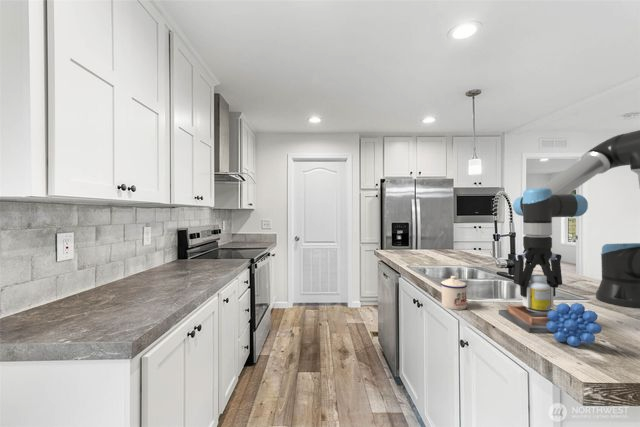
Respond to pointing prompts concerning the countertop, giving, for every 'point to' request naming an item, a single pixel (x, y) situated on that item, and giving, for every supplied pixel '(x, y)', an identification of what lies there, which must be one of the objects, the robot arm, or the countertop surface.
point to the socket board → (526, 319)
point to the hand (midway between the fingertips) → (537, 306)
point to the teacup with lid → (454, 294)
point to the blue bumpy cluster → (573, 324)
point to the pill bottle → (539, 294)
